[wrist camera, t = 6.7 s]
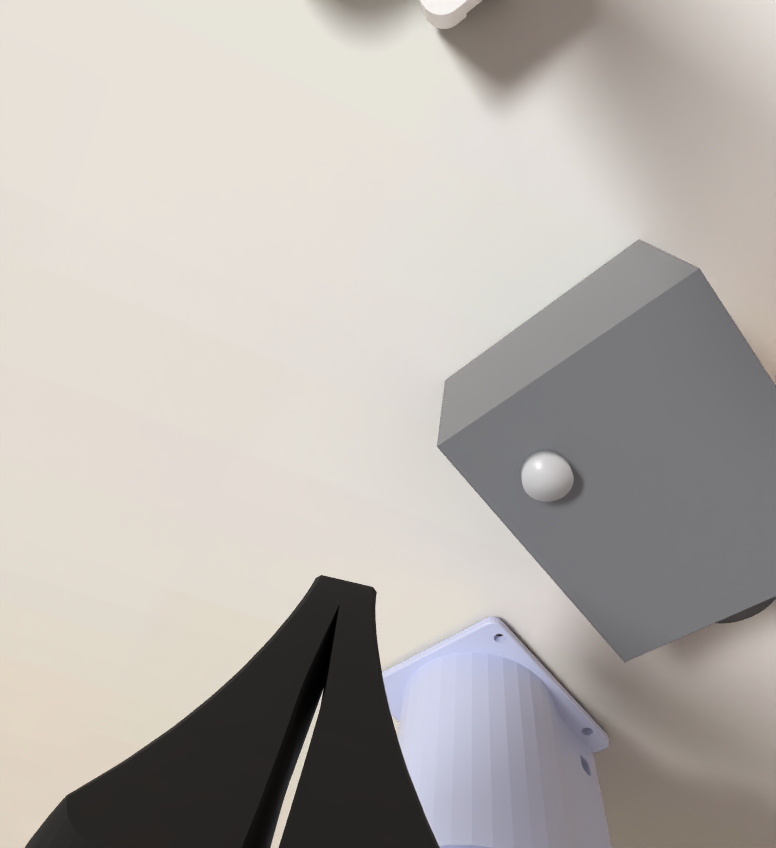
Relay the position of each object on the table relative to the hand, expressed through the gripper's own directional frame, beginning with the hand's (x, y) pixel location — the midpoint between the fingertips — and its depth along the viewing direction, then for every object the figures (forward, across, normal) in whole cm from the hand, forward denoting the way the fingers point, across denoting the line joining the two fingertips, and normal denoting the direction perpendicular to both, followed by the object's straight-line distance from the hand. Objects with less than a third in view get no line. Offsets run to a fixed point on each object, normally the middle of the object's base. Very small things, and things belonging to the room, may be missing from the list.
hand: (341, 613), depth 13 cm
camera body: (+10, -8, -2) cm, 13 cm away
